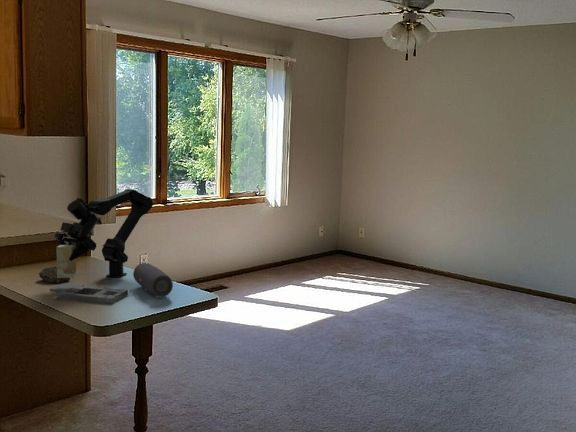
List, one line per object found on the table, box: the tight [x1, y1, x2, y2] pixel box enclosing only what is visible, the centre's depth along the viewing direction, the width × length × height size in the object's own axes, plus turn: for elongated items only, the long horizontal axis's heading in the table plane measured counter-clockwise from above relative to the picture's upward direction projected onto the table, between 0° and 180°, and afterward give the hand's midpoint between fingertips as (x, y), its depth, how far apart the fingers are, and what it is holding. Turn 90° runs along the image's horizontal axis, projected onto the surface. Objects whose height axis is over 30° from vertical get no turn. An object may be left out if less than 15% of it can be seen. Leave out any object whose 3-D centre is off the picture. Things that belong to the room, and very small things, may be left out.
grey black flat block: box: [56, 285, 129, 305], centre depth 227 cm, size 12×22×2 cm, turn 77°
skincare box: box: [55, 244, 77, 279], centre depth 237 cm, size 6×4×12 cm
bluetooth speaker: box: [132, 262, 174, 298], centre depth 234 cm, size 23×9×10 cm, turn 30°
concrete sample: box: [38, 266, 71, 284], centre depth 250 cm, size 12×10×5 cm
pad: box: [49, 282, 85, 292], centre depth 238 cm, size 9×9×1 cm
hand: (63, 259), depth 236 cm, fingers closed on skincare box, 7 cm apart
